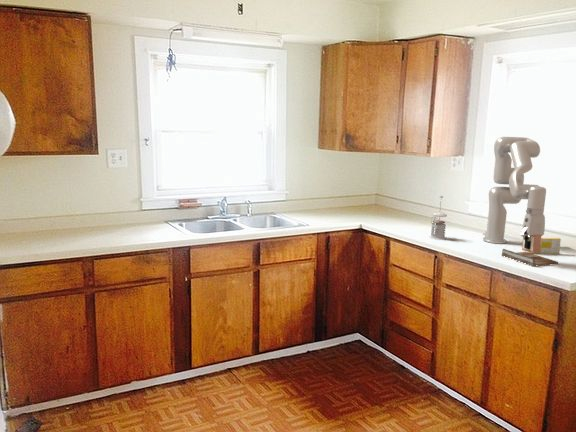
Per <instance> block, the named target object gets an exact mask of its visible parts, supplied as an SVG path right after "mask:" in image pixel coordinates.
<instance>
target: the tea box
mask: <svg viewBox="0 0 576 432" xmlns="http://www.w3.org/2000/svg"><path fill="white" fill-rule="evenodd" d="M527 237H528V236H527ZM522 238H523V237H522ZM541 238H542V236H541V235H533V236H531V239H530V241H531V245H530V249H526V248H524V244H525V240H524V238H523V239H522V246H521V250H522V252H530V253H539V251H540V243H541Z"/></svg>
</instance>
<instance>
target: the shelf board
mask: <svg viewBox="0 0 576 432" xmlns="http://www.w3.org/2000/svg"><path fill="white" fill-rule="evenodd" d="M515 253H518V254H521V255H524V256H527V257H531V258H534V259H535V264H532V263H529V262H526V261H523V260H520V259H517V258H514V257H511V256H508V255H505V254H502V253H501V257H504V256H505V257H504V258H506V257H508V258H507V259H509V258H511V259H510V260H512V259H514V260H513V261H515V260H517V261H516V262H518V261H520V262H519V263H521V262H523V263H522V264H524V263H526V264H525V265H527V264H529V265H528V266H530V265H532V266H531V267H537V266H536V265H544V266H551V265H550V264H556V265H559V261H557V260H553V259H550V258H548V257H544V256H542V255H537V254H532V253H528V252H527V251H519V252H518V251H516V252H515Z"/></svg>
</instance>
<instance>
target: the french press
mask: <svg viewBox="0 0 576 432" xmlns="http://www.w3.org/2000/svg"><path fill="white" fill-rule="evenodd" d="M439 198H440V199H442V198H444V196H443V195H439ZM439 205H440V206H439V207H440V208H439V209H441V207H442V206H441V205H442V202H440V204H439ZM446 217H448V216H447V214H446V213H444V212H443V211H437V212H434V213H432V217H431V221H430V223H431V231H430V232H431V233H430V236H428V238H429V239H432V240H437V241H444V240H447V237H446V236H445V235H446V221H445V220H440V218H446ZM436 218H438V219H437V220H435V219H436Z"/></svg>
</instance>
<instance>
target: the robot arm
mask: <svg viewBox="0 0 576 432" xmlns="http://www.w3.org/2000/svg"><path fill="white" fill-rule="evenodd" d="M493 151H494V158H495V159H494V160H495V161H494V167H493V183H494V184H496V185H497V184H498V185H508V186H494V187H491V188H490V189H489V190H488V202H489V203H488V215H487V225H486V231H484V232H482V235H483V236H484V237H483V238H482V240H483V242H487V243H491V244H501V245H502V244H506V243H507V239H505V232H506V223H507V222H506V221H507V214H508V212H507V209H506V206H505V205H506V204H508V205H509V204H510V205H512V204H513V205H514V204H515V205H517V204H519V203H520V202H521V200H527V204H526V205H527V206H526V209H525V212H526V213H525V215H524V219H523V225H522V230H521V231H522V232H521V233H520V236H521V237H522V238H524V240H525V244H524V248H526V249H530V245H531V241H530V239H531V236H533V235H541V237H543V236H544V235H545V230H546V217H545V214H544V213H545V212H544V211H545V204H546V196H547V188H546V187H544V186H541V185H538V184H527V183H526V184H525V174H526V173H529V172H530V171H531V170H532V169H533V162H532V158H534V159H535V158H538V156H540V153H541V147H540V144H539V143H538V142H537V141H536V140H533V139H531V138H529V137H522V136H521V137H520V136H502V137H498V138H496V140H495V142H494V146H493ZM510 154H511V155H510ZM512 163H513V164H512ZM512 165H513V167H512ZM527 236H528V237H527Z"/></svg>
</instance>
